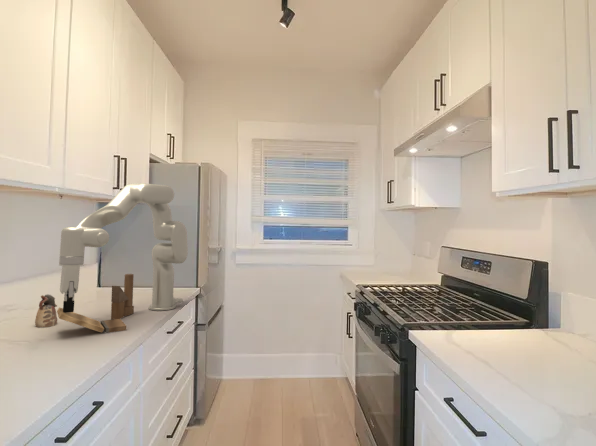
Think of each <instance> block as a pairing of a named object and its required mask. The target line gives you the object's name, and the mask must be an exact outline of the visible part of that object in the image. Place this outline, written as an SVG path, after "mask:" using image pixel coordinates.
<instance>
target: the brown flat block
mask: <svg viewBox="0 0 596 446" xmlns="http://www.w3.org/2000/svg"><path fill="white" fill-rule="evenodd" d="M99 322H100V323H101V325H102V326H103V328H104V330H103V332H104V333H105V334H109V333H116V332H123V331H127V325H126V323H124V321H123V320H122V318H121V319H106V320H100V321H99Z"/></svg>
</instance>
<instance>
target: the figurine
mask: <svg viewBox="0 0 596 446" xmlns="http://www.w3.org/2000/svg"><path fill="white" fill-rule="evenodd" d="M40 298H41V300H40V301H39V304H38V309H37V312H36V315H35V320H34V324H35V327H36V328H50V327H54V326H57V325H58V314H57V309H56V307H58V304H56V302H55V301H56V300H55V299H56V298H55V297H54V296H53V295H52V294H48V293H47V294H45V295H43V294H42V295H40Z"/></svg>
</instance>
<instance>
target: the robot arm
mask: <svg viewBox="0 0 596 446" xmlns="http://www.w3.org/2000/svg"><path fill="white" fill-rule="evenodd" d="M174 199H175V192H174V189H173V188H172V187H171V186H169V185H167V184H155V183H154V184H153V183H141V182H140V183H128V184H127V185H124V187H122V188H121V189H120V190H119V192H118V193H116V195H115V196H114V197H113V198H112V199H111V200H110V201H109V202H108V203H107V204H106V205H105V206H103V207H101V208H99V209H98V210H96V211H94V212H92V213H91V214H89V215H88V216H86V217H84V219H82V221H81V222H79V224H78V225H77V226H75V227H74V226H73V227H71V226H70V227H68V226H67V227H63V228H62V229H61V232H60V233H61V234H60V245H59V248H60V249H59V260H58V263H59V264H58V266H61V272H60V273H61V274H60V283H59V284H60V285H59V292H60V294H62V295H63V294H64V297H63V298H64V300H63V303H62V304H63V305H62V306H63V307H62V308H63V312H64V313H67V312H75V294H76V293H78V291H79V281H80V268H81V267H82V266H84V264H85V262H84V261H85V247H89V248H102V247H104V246H105V245H107V244H108V243H109V242H110V241H109V240H110V235H109V233H108V231H107V230H106V229H103V227H106V226H108V225H111V224H114V223H118V222H120V221H122V220H125V218H126V217H127V216H128V215H130V212H132V211H133V209H134V208H135V207H136V206H137V205H138V204H146V205H148V207H149V208H150V210H151V215H152V224H153V235H154V238H155V239H156V240H159V241H166V242H158V243H156V244H155V245H154V246H153V248H152V249H151V258H152V265H153V266H152V268H153V271H152V273H153V274H152V297H151V304H149V305H148V306H147V307H148V310H151V311H158V312H159V311H170V310H174V309H176V308H177V304H179V303H183V302H184V298H176V297H174V286H175V285H174V283H175V282H174V281H175V269H174V266H173V264H175V265H176V264H179V265H180V264H182V263H184V262H186V261H187V258H188V253H189V251H188V250H189V249H188V247H189V246H188V231H187V228H186V225H185V224H184V223H183V222H181V221H177V220H173V217H172V216H173V215H172V209H171V207H170V205H169V204H170V203H171V202H173V200H174ZM167 241H169V242H167Z"/></svg>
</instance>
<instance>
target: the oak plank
mask: <svg viewBox="0 0 596 446" xmlns="http://www.w3.org/2000/svg"><path fill="white" fill-rule="evenodd" d="M56 314H57V318H58V319H60V320H63V321H64V322H65V321H66V322H69V323H71V324H75V325H78V326H80V327H84V328H86V329H89V330H93V331H95V332H99V333H103V332H104V328H103V326H102V325H101V323H100V322H101V321H99V320H97V319H94V318H91V317H88V316H85V315H83V314H79V313H77V312H75V311H73V312H67V313H64V312H63V307H58V309H56Z"/></svg>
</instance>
